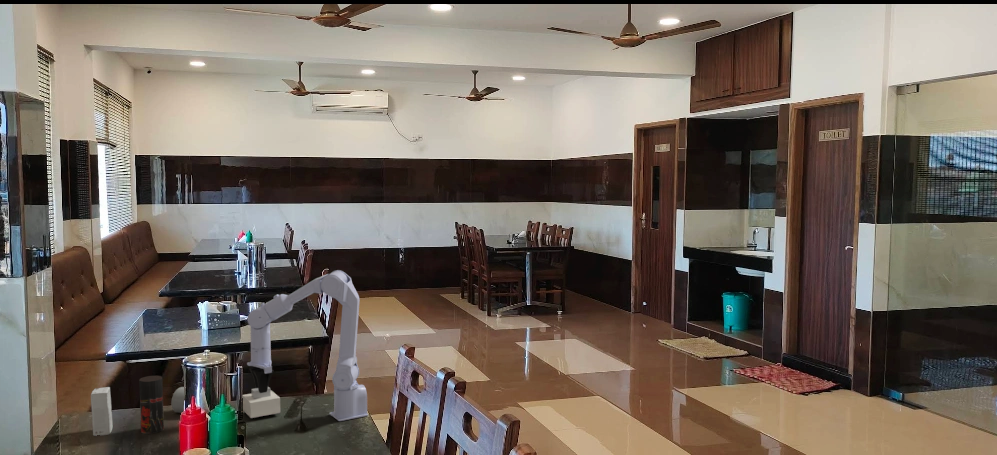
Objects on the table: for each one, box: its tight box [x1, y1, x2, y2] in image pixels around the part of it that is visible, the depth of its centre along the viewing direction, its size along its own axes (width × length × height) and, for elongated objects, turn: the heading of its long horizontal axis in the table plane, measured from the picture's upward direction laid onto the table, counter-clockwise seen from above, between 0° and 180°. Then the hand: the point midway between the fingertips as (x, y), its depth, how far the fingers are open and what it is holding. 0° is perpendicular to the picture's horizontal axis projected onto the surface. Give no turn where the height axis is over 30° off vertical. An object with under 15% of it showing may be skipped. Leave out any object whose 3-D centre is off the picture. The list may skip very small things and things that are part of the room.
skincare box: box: [90, 386, 114, 437], centre depth 209 cm, size 6×4×12 cm
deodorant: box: [138, 375, 165, 435], centre depth 211 cm, size 6×6×15 cm
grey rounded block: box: [170, 386, 184, 414], centre depth 227 cm, size 11×8×8 cm
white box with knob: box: [241, 386, 281, 419], centre depth 224 cm, size 9×9×7 cm
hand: (261, 391), depth 224 cm, fingers closed on white box with knob, 2 cm apart
